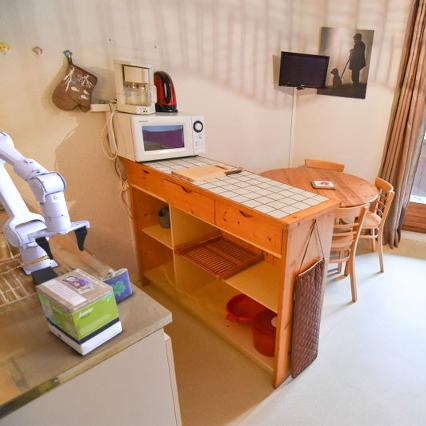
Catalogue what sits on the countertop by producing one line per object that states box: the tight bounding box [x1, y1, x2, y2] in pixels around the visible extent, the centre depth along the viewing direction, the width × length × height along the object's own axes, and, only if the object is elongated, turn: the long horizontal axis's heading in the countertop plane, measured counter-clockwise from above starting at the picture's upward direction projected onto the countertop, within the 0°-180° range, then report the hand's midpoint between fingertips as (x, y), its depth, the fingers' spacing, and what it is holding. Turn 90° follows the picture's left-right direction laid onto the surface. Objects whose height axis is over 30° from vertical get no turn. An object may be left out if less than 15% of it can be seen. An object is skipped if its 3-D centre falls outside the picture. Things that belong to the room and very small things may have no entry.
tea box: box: [35, 267, 123, 356], centre depth 79 cm, size 15×10×15 cm
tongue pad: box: [30, 266, 60, 286], centre depth 97 cm, size 12×5×4 cm, turn 51°
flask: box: [97, 267, 133, 305], centre depth 92 cm, size 9×3×11 cm, turn 148°
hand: (66, 254), depth 98 cm, fingers open, 7 cm apart
